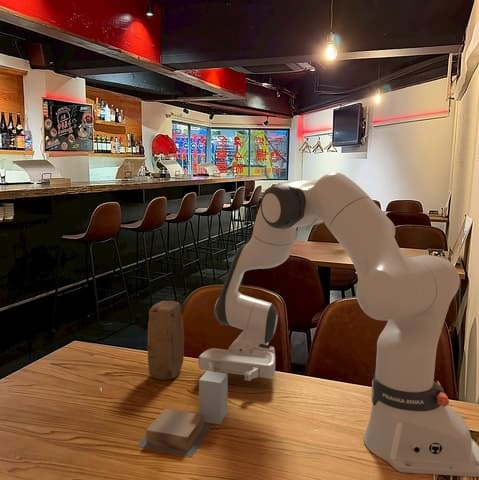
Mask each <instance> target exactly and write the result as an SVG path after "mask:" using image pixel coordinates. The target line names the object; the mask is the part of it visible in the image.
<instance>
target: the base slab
mask: <svg viewBox="0 0 479 480" xmlns="http://www.w3.org/2000/svg"><path fill="white" fill-rule="evenodd" d="M204 424H205V423H204V415H202V414H199V413H197V412H196V413H195V412H188V411H184V410H183V411H182V410H178V409H177V410H176V409H171V408H164V410H162V412H160V414H159V415H158V416H157V417H156V418H155V419H154V421H153V422H152V423H151V424H150V425H149V426H148V427H147V429H146V430H145V433H146V435H145V436H146V442H147V444H151V445H157V446H162V447H167V448H173V449H178V450H183V451H188V450H189V449H190V447H191V446H192V444H193V443H194V441H195V440H196V438H197V437H198V435H199V434H200V432H201V431H202V429H203V428H204Z"/></svg>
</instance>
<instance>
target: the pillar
mask: <svg viewBox="0 0 479 480" xmlns="http://www.w3.org/2000/svg"><path fill="white" fill-rule="evenodd" d="M228 374H229V373H224V372H213V371H208V370H205V372H204V373H203V374H202V376H201V377H200V378H199V379H198V393H199V394H198V414H202V415H204V422H205V423H210V424H217V425H221V424H222V423H223V421H224V419H225V418H226V416H227V414H228V394H229V392H228V388H229V387H228V385H229V384H228V383H229V382H228V380H229V379H228Z"/></svg>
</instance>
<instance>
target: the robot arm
mask: <svg viewBox="0 0 479 480" xmlns="http://www.w3.org/2000/svg"><path fill="white" fill-rule="evenodd" d="M322 223H324V225H325V227H326V228H327V229H328V230H329V232H330V233H331V234H332V235H333V236H334V239H336V240H337V242H338V243H339V245H340V246H341V247H342V249H343V250H344V251H345V253H346V255H348V257H349V258H350V261H351V262H352V264H353V267H354V269H355V271H356V275H357V283H356V291H355V292H356V293H355V294H356V299H357V302H358V304H359V306H360V309H361V310H362V311H363V312H364V314H366V315H367V316H368V317H369V318H371V319H374V320H377V321H387V322H386V325H385V326H384V328H383V330H382V331H381V332H380V334H379V336H378V339H377V341H376V360H375V361H376V362H375V364H376V365H375V372H374V374H373V376H372V380H371V381H372V382H371V402H372V405H371V411H370V417H369V419H368V424H367V427H366V429H365V432H364V434H363V442H364V445H365V446H366V448H367V449H368V450H369V451H370V452H372V453H373V454H374V455H376V456H377V457H379V458H380V459H383V460H384V461H386V462H387V463H388V464H390V465H391V466H392V468H393V469H394V470H396V471H397V472H400V473H410V474H411V473H412V474H424V475H425V474H427V475H440V476H455V477H469V478H470V477H472V478H473V477H474V478H478V477H479V445H478V444H477V442H476V441H475V440H474V439H472V436H471V431H470V428H469V426H468V425H467V422H466V421H465V420H464V418H463V417H462V416H461V414H459V413H458V412H456V410H454V409H453V408H452V407H450V406H449V403H450V400H449V397H448V395H447V394H446V393H445V391H444V388H443V387H442V386H441V383H440V382H439V380H436V381H435V379H434V378H435V368H436V358H437V349H438V344H439V340H440V336H441V334H442V330H443V326H444V323H445V320H446V317H447V313H448V311H449V308H450V305H451V302H452V301H453V299H454V297H455V296H456V294H457V292H458V290H459V287H460V282H461V279H460V274H459V271H458V269H457V267H456V266H455V265H454V264H453V263H452V261H450V260H449V259H446V258H444V257H441V256H436V255H431V254H430V255H429V254H421V255H416V256H410V257H409V256H406V255H405V254H404V253H403V251H402V250H401V249H400V247H399V245H398V242H397V240H396V238H395V235H396V227H395V224H394V223H393V221H392V220H391V219H390V217H388V216H387V215H386V214H385V212H384V211H383V210H382V209H381V208H380V207H379V206H378V204H376V202H375V200H374V199H372V197H370V196H369V194H368V193H366V192H365V191H364V190H363V188H361V187H360V186H359V185H358V184H357V183H355V182H354V181H353V180H352V179H350V178H349V177H348V176H346V175H345V174H343V173H341V172H329V173H326V174H325V175H322V176H321V177H320V178H319V179H317V180H316V179H315V180H314V179H313V180H311V179H308V180H305V179H304V180H293V181H289V182H284V183H282V182H281V183H277V184H273V185H272V186H269V187H267V189H265V190H264V192H263V194H262V196H261V199H260V206H259V208H258V212H257V215H256V218H255V221H254V226H253V231H252V235H251V238H250V240H248V242H247V243H245V244H244V243H242V245H241V246H239V248H238V249H237V250H236V253H235V255H234V257H233V260H232V262H231V265H230V267H229V270H228V272H227V275H226V278H225V281H224V283H223V286H222V289H221V291H220V294H219V296H218V298H217V299H216V302H215V305H214V310H213V313H214V317H215V318H216V320H217V321H218V323H219V325H223V326H230V327H234V328H237V329H240V330H243V331H242V332H241V333H240V334H239V335H238V337H237V338H235V340H234V341H233V342H232V343H231V344H230V346H229V347H228V349H223V348H213V347H212V348H208V349H206V350H205V351H203V352H202V353H201V354H200V355H199V356H198V368H199V369H200V370H203V371H213V372H220V373H228V374H231V375H232V374H233V375H240V376H244V379H243V380H244V381H246V382H247V381H248V382H251V381H252V380H254V379H256V378H261V379H262V378H263V379H269V380H270V379H273V378H274V377H275V374H276V351H275V347H274V346H272V345H269V343H270V341H271V340H273V338H274V337H275V334H276V331H277V328H278V325H279V324H278V323H279V320H280V319H279V318H280V315H279V312H278V309H277V307H276V306H275V304H274V303H272V302H269V301H266V300H263V299H259V298H255V297H252V296H249V295H246V294H243V293H242V292H240V291H239V287H240V285H241V282H242V280H243V277H244V274H245V272H247V271H251V270H259V269H262V270H265V269H271V268H276V267H278V266H280V265H282V264H283V263H285V262H286V261H287V260H288V259H289V257H290V255H291V252H292V249H293V246H294V241H295V239H296V238H295V237H296V232H297V228H300V227H311V226H316V225H319V224H322Z"/></svg>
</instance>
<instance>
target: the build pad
mask: <svg viewBox="0 0 479 480" xmlns="http://www.w3.org/2000/svg"><path fill="white" fill-rule="evenodd" d="M212 427H213V424H209V423H204V428H203V429H202V431H201V432H200V434H199V435H198V437H197V438H196V440H195V441H194V443H193V444H192V446H191V447H190V449H189V450H188V451H183V450H178V449H173V448H167V447H162V446H157V445H151V444H147V442H146V435H145V436H144V437H143V438H142V439H141V440H140V442H139V443H137V444H136V448H142V449H147V450H153V451H157V452H162V453H168V454H172V455H178V456H184V457H189V458H192V457H193V456H194V455H195V453H196V451H197V450H198V449H199V447H200V446H201V444H202V443H203V441H204V440H205V438H206V436H207V435H208V433H209V432H210V430H211V429H212Z"/></svg>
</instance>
